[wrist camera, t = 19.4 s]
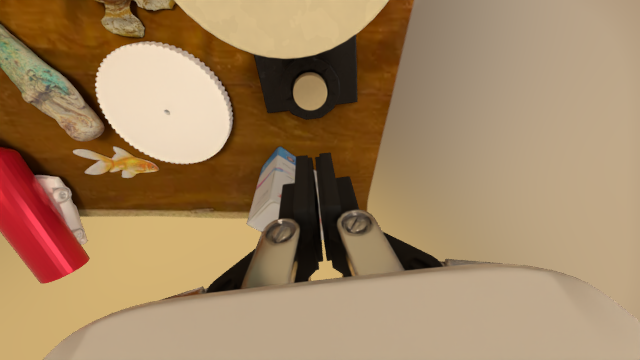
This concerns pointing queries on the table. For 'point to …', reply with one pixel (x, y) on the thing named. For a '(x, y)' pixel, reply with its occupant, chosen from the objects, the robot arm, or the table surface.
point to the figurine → (48, 89)
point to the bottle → (35, 222)
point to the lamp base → (330, 65)
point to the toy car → (63, 204)
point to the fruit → (129, 15)
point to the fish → (117, 163)
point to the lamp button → (310, 91)
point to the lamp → (283, 23)
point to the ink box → (273, 189)
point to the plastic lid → (164, 102)
